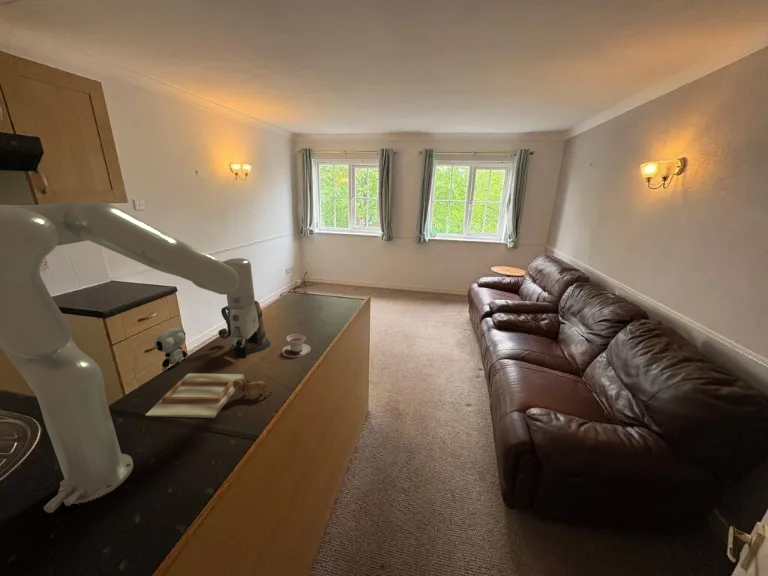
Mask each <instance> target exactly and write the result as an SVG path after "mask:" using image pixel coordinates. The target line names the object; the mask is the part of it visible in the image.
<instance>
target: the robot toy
mask: <svg viewBox="0 0 768 576" xmlns="http://www.w3.org/2000/svg"><path fill="white" fill-rule="evenodd" d="M180 327H181V328H180ZM180 327H173V328H171V327H170V328H168V329H166V330H164V331H162V333H160V334H159V335H158V336H157V338H156V341H155V337H152V340H153V343H154V346H155V349H156V350H157V351H159V352H160V353H165V354H164V357H165V359H164V360H163V361H162V363H161V364H162V365H161V368H162V372H166V371H167V370H168V367H170V365H173V366H178V365H179V364H180V363H182V361H183V359H185V360H187V359H188V358H189V354H188V353H187V351H186V350H183V348H182V346H183V345H184V343H185V341H186V338H187V336H186V332H185V329H184V328H183V324H180ZM179 362H180V363H179ZM178 363H179V364H178ZM175 364H176V365H175Z"/></svg>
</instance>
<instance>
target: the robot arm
mask: <svg viewBox="0 0 768 576" xmlns="http://www.w3.org/2000/svg"><path fill="white" fill-rule="evenodd" d="M86 241H89V242H91V243H94V244H97V245H99V246H101V247H103V248H105V249H107V250H110V251H113V252H114V253H116V254H120V255H121V256H124V257H126V258H129V259H131V260H133V261H136V262H137V263H140V264H142V265H144V266H146V267H148V268H151V269H154V270H156V271H159V272H161V273H165V274H167V275H168V274H169V275H172V276H176V277H179V278H181V279H184V280H187V281H190V282H191V283H192V284H193V285H194V286H196V287H198V288H200V289H202V290H203V289H204V290H207V291H209V292H213V293H215V294H219V295H226V300H227V301H226V302H227V306H228V307H230V326H231V336H230V337H229V341H230V342H231V346H233V348H234V351H233V352H234V358H235V359H239V360H240V359H244V360H245V359H247V356H248V355H247V354H246V348H245V346H244V342H245V338H246V339H248V343H258V335H257V332H256V331H257V329H258V327H259V322H258V315H257V310H256V305H255V301H256V300H255V290H254V283H253V281H254V280H253V273H252V264H251V262H250V260H248V259H247V258H241V257H238V258H229V259H226V260H223V261H222V260H221V261H220V260H219V259H217V258H215V257H213V256H211V255H209V254H208V253H205V252H203V251H201V250H199V249H196V248H194V247H192V246H190V245H188V244H186V243H185V242H183V241H181V240H179V239H177V238H174V237H173V236H171V235H169V234H167V233H165V232H163V231H162V230H159V229H158V228H155V227H154V226H152V225H150V224H148V223H147V222H145V221H143V220H142V219H139V218H137V217H136V216H134V215H132V214H130V213H128V212H126V211H125V210H123V209H121V208H118V207H116V206H114V205H113V204H110V203H106V202H102V201H93V200H91V201H90V200H78V201H67V202H59V203H57V202H56V203H45V204H32V205H29V204H28V205H17V206H4V207H0V349H1V350H2V351H3V353H4V354H5V355H6V357H7V358H8V359H9V361H10V362H11V363H12V365H13V366H14V368H15V369H16V370H17V371H18V373H19V374H20V375H21V376H22V378H23V380H25V382H26V383H27V384H28V386H29V388H30V389H31V390H32V392H33V394H34V395H35V397H36V399H37V402H38V404H39V407H40V411H41V415H42V418H43V419H42V420H43V422H44V425H45V428H46V431H47V434H48V436H49V438H50V441H51V444H52V447H53V449H54V453H55V456H56V457H57V458H56V459H57V461H58V464H59V466H60V470H61V472H62V476H63V477H64V479H63V480H61V481H60V482H59V485H60V487H59V489H58V491H57V495H55V496H54V497H53V498H52V499H51V500H49V501H48V502H47V503H46V504H45V505H44V506H43V510H44V511H45V512H46V513H49V514H51V513H53V512H55V510H57V509H58V507H59V506H61V505H62V503H63V502H64V503H63V504H64V505H65V506H66V507H69V506H72V505H71V504H78V505H80V504H79V503H83V502H84V503H83V504H86V503H85V502H87V503H89V502H88V501H90V502H92V501H91V500H93V499H95V500H97V499H96V498H98V499H100V498H102V497H104V496H106V495H108V494H109V493H111V492H113V491H114V490H116V488H118V487H119V486H121V485H122V484H123V483H124V482H125V480H126V479H127V478H128V477H130V474H131V473H132V471H133V468H134V462H133V459H132V458H133V457H131V456H130V455H129V454H127V453H126V454H125V453H122V451H121V447H120V444H119V440H118V437H117V433H116V430H115V426H114V423H113V419H112V416H111V412H110V407H109V404H108V400H107V395H106V388H105V379H104V374H103V372H102V370H101V368H100V366H99V365H98V364H97V362H96V361H95V360H94V359H92V358H91V357H90V356H89V355H87V354H86V353H84V352H83V351H82V350H81V349H80V348H79V347H78V346H77V344H76V343H75V342H74V340H73V338H72V328H71V325H70V322H69V320H68V318H67V317H66V316H65V315H64V314H63V312H62V311H61V310H60V308H59V306H58V305H57V303H56V302H55V300H54V298H53V296H51V293H50V292H49V290H48V288H47V285H46V284H45V282H44V281H43V279H42V277H41V271H40V270H41V269H40V268H41V264H42V263H43V261H44V259H45V258H46V257H47V256H48V255H49V254H51V253H52V252H53V251H54V249H55V248H56V247H57V246H64V245H71V244H75V243H76V244H77V243H81V242H86ZM239 335H242V337H238V336H239ZM238 339H241V343H240V342H239V341H237V340H238ZM107 493H108V494H107ZM105 494H106V495H105ZM103 495H104V496H103ZM101 496H102V497H101ZM99 497H100V498H99ZM93 501H94V500H93Z"/></svg>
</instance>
